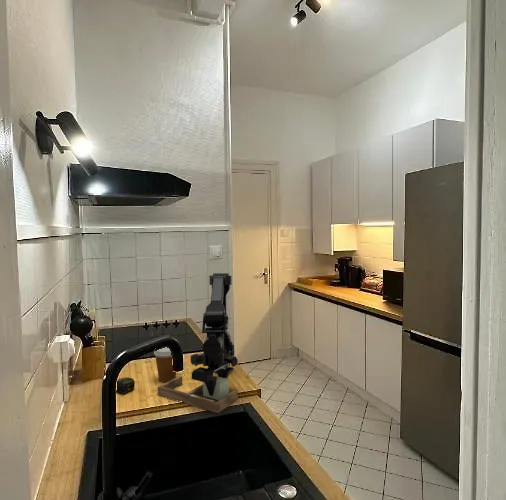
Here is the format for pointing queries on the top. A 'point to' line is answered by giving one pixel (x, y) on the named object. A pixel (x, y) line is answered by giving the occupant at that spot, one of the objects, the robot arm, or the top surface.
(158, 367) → the disposable coffee cup
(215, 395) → the frame block
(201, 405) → the walnut comb rail
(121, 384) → the tape measure
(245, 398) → the top surface
